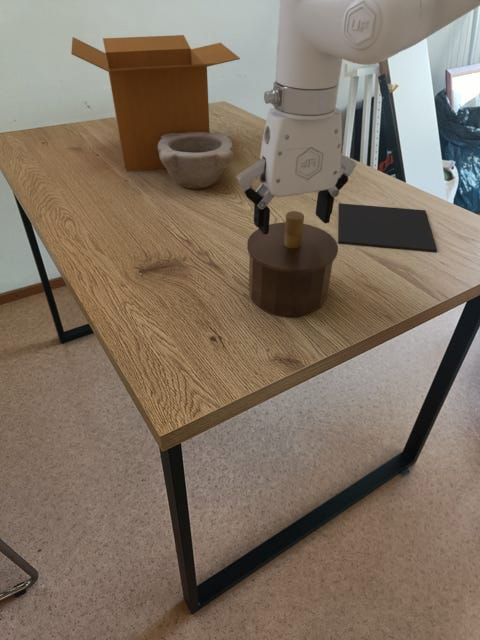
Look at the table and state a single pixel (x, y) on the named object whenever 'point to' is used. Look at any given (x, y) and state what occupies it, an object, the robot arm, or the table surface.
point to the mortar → (195, 157)
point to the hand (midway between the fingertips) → (292, 224)
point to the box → (155, 89)
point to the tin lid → (293, 246)
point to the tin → (288, 290)
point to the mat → (385, 227)
